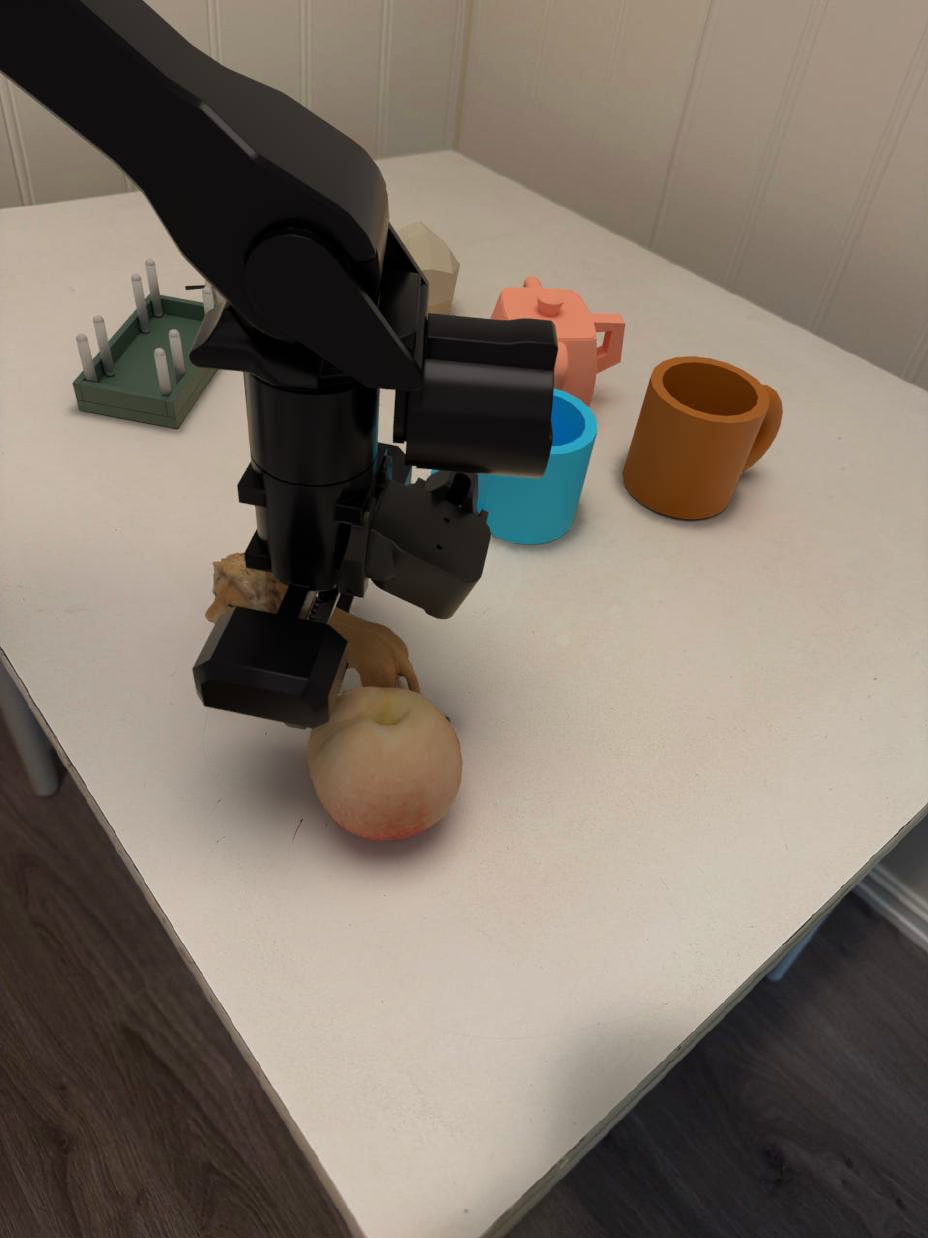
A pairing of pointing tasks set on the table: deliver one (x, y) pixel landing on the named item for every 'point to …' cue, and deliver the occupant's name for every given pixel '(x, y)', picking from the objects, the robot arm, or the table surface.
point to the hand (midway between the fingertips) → (319, 667)
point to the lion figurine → (368, 642)
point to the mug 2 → (698, 435)
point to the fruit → (385, 763)
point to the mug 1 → (543, 481)
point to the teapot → (567, 333)
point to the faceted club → (420, 266)
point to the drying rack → (146, 359)
